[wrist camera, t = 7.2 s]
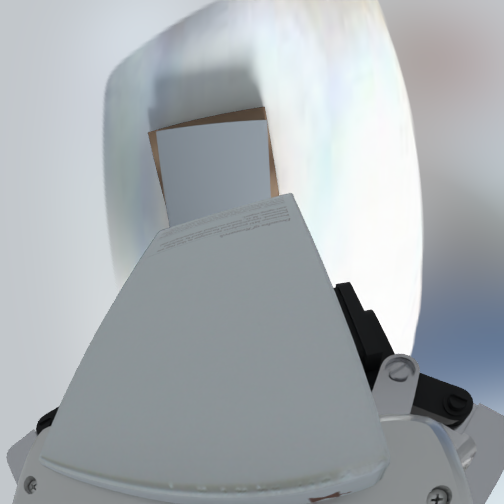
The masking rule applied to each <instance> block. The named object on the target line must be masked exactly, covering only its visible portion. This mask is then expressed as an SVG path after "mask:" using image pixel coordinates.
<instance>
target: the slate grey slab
mask: <svg viewBox="0 0 504 504" xmlns="http://www.w3.org/2000/svg"><path fill="white" fill-rule="evenodd" d="M156 135H157V144H158V152H159V160H160V167H161V175H162V182H163V188H164V195H165V201H166V208H167V214H168V219H169V225H170V227H173V226H176V225H179V224H183V223H186V222H189V221H192V220H195V219H199V218H202V217H205V216H209V215H212V214H215V213H219V212H222V211H226V210H229V209H233V208H236V207H239V206H243V205H247V204H251V203H254V202H258V201H261V200H265V199H269V198H271V191H270V169H269V148H268V130H267V120H250V121H235V122H223V123H213V124H204V125H195V126H187V127H180V128H173V129H166V130H161V131H156Z"/></svg>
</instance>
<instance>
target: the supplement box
mask: <svg viewBox="0 0 504 504" xmlns="http://www.w3.org/2000/svg"><path fill="white" fill-rule="evenodd" d="M390 459H391V456H390V452H389V449H388V446H387V442H386V439H385V436H384V432H383V429H382V426H381V422H380V419H379V416H378V412H377V409H376V406H375V402H374V399H373V396H372V393H371V390H370V387H369V384H368V381H367V378H366V375H365V372H364V369H363V366H362V363H361V360H360V357H359V355H358V352H357V349H356V346H355V343H354V341H353V338H352V335H351V332H350V330H349V327H348V325H347V322H346V319H345V317H344V314H343V312H342V309H341V306H340V304H339V301H338V299H337V296H336V293H335V291H334V289H333V286H332V284H331V282H330V279H329V277H328V274H327V272H326V269H325V267H324V264H323V262H322V260H321V257H320V255H319V253H318V250H317V248H316V246H315V243H314V241H313V239H312V236H311V234H310V232H309V230H308V227H307V225H306V223H305V221H304V219H303V216H302V214H301V212H300V209H299V207H298V205H297V203H296V201H295V199H294V196H293V194H292V193H288V194H284V195H280V196H276V197H273V198H269V199H265V200H261V201H258V202H254V203H251V204H247V205H243V206H239V207H236V208H233V209H229V210H226V211H222V212H219V213H215V214H212V215H209V216H205V217H202V218H199V219H195V220H192V221H189V222H186V223H183V224H179V225H176V226H173V227H170V228H167V229H164V230H161V231H159V232H158V233H157V235H156V236H155V238H154V239H153V241H152V242H151V244H150V245H149V247H148V248H147V250H146V251H145V253H144V254H143V256H142V257H141V259H140V260H139V262H138V263H137V265H136V267H135V268H134V270H133V271H132V273H131V275H130V276H129V278H128V279H127V281H126V283H125V284H124V286H123V287H122V289H121V291H120V292H119V294H118V296H117V297H116V299H115V301H114V303H113V304H112V306H111V308H110V309H109V311H108V313H107V314H106V316H105V318H104V320H103V321H102V323H101V325H100V327H99V328H98V330H97V332H96V334H95V335H94V338H93V340H92V341H91V343H90V345H89V347H88V349H87V351H86V353H85V354H84V357H83V359H82V361H81V363H80V365H79V367H78V368H77V370H76V372H75V375H74V377H73V379H72V381H71V383H70V385H69V387H68V389H67V391H66V393H65V395H64V398H63V400H62V402H61V404H60V406H59V409H58V411H57V413H56V416H55V418H54V420H53V423H52V425H51V428H50V430H49V432H48V434H47V437H46V440H45V442H44V445H43V447H42V450H41V453H40V455H39V459H38V460H39V462H40V463H41V464H42V465H44V466H45V467H48V468H50V469H52V470H54V471H56V472H58V473H61V474H63V475H65V476H68V477H71V478H74V479H76V480H79V481H82V482H85V483H89V484H92V485H95V486H99V487H102V488H105V489H109V490H113V491H117V492H121V493H125V494H129V495H133V496H138V497H142V498H147V499H153V500H158V501H165V502H171V503H179V504H306V503H312V502H317V501H323V500H328V499H332V498H336V497H340V496H344V495H347V494H351V493H354V492H358V491H361V490H364V489H366V488H369V487H371V486H373V485H375V484H376V483H377V482H378V481H379V480H381V479H383V476H384V474H385V471H386V469H387V468H388V466H389V464H390Z"/></svg>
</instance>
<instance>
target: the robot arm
mask: <svg viewBox="0 0 504 504" xmlns="http://www.w3.org/2000/svg"><path fill="white" fill-rule="evenodd" d="M333 289H334V291H335V293H336V296H337V299H338V301H339V304H340V306H341V309H342V312H343V314H344V317H345V319H346V322H347V325H348V327H349V330H350V332H351V335H352V338H353V341H354V343H355V346H356V349H357V352H358V355H359V357H360V360H361V363H362V366H363V369H364V372H365V375H366V378H367V381H368V384H369V387H370V390H371V393H372V396H373V399H374V402H375V406H376V409H377V412H378V416H379V419H380V422H381V426H382V429H383V432H384V436H385V439H386V442H387V446H388V449H389V452H390V456H391V459H390V464H389V466H388V468H387V469H386V471H385V474H384V476H383V479H381V480H379V481H378V482H377V483H376V484H375V485H373V486H371V487H369V488H366V489H364V490H361V491H358V492H354V493H351V494H347V495H344V496H340V497H336V498H332V499H328V500H323V501H317V502H312V503H306V504H485V502H486V500H487V499H488V497H489V495H490V494H491V492H492V490H493V488H494V487H495V485H496V483H497V481H498V480H499V478H500V476H501V474H502V472H503V470H504V416H503V415H501V414H499V413H497V412H495V411H493V410H492V409H490V408H488V407H486V406H484V405H482V404H479V405H476V404H474V403H473V399H472V397H471V395H470V394H469V393H468V392H467V391H466V390H464V389H462V388H459V387H457V386H454V385H451V384H448V383H446V382H443V381H440V380H438V379H435V378H432V377H429V376H427V375H424V374H422V373H420V372H419V371H420V369H419V365H418V363H417V362H416V360H415V359H414V358H412V357H410V356H408V355H405V354H394V352H393V349H392V347H391V345H390V343H389V341H388V339H387V337H386V335H385V333H384V331H383V329H382V327H381V325H380V323H379V321H378V319H377V317H376V315H375V313H374V312H373V310H367V311H364V309H363V307H362V305H361V303H360V301H359V299H358V297H357V295H356V293H355V291H354V289H353V287H352V285H351V283H350V282H346V283H340V284H336V288H333ZM58 409H59V407H57V408H56V409H54V410H52V411H51V412H49V413H48V414H46V415H44V416H43V417H42V418H41V419H40V420H39V421H38V424H37V428H36V431H35V430H32V431H31V432H30V433H28V434H27V435H26V436H25V437H23V438H22V439H21V440H20V441H18V442H17V443H16V444H15V445H13V446H12V447H11V448H10V449H9V451H8V453H7V462H8V464H9V467H10V469H11V471H12V474H13V476H14V478H15V481H16V483H17V489H16V493H15V496H14V500H13V504H179V503H171V502H165V501H158V500H153V499H147V498H142V497H138V496H133V495H129V494H125V493H121V492H117V491H113V490H109V489H105V488H102V487H99V486H95V485H92V484H89V483H85V482H82V481H79V480H76V479H74V478H71V477H68V476H65V475H63V474H61V473H58V472H56V471H54V470H52V469H50V468H48V467H45V466H44V465H42V464H41V463H40V462H39V460H38V459H39V455H40V453H41V450H42V447H43V445H44V442H45V440H46V437H47V434H48V432H49V430H50V428H51V425H52V423H53V420H54V418H55V416H56V413H57V411H58ZM430 491H431V492H430Z"/></svg>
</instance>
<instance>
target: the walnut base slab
mask: <svg viewBox="0 0 504 504" xmlns="http://www.w3.org/2000/svg"><path fill="white" fill-rule="evenodd" d="M250 120H267V117H266V111H265V107H259V108H253V109H247V110H241V111H235V112H230V113H225V114H220V115H215V116H210V117H206V118H201V119H197V120H192V121H188V122H184V123H180V124H176V125H172V126H169V127H165V128H161V129H158V130H154V131H151V132H148V135H149V139H150V144H151V148H152V152H153V157H154V161H155V165H156V169H157V173H158V177H159V181H160V185H161V189H162V193H163V196H164V200H165V195H164V188H163V182H162V175H161V167H160V160H159V152H158V144H157V135H156V131H161V130H166V129H173V128H180V127H187V126H195V125H204V124H213V123H223V122H235V121H250ZM267 130H268V148H269V169H270V191H271V198H273V197H276V196H279V191H278V185H277V178H276V172H275V165H274V159H273V153H272V147H271V141H270V135H269V129H268V123H267ZM165 204H166V201H165Z"/></svg>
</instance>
